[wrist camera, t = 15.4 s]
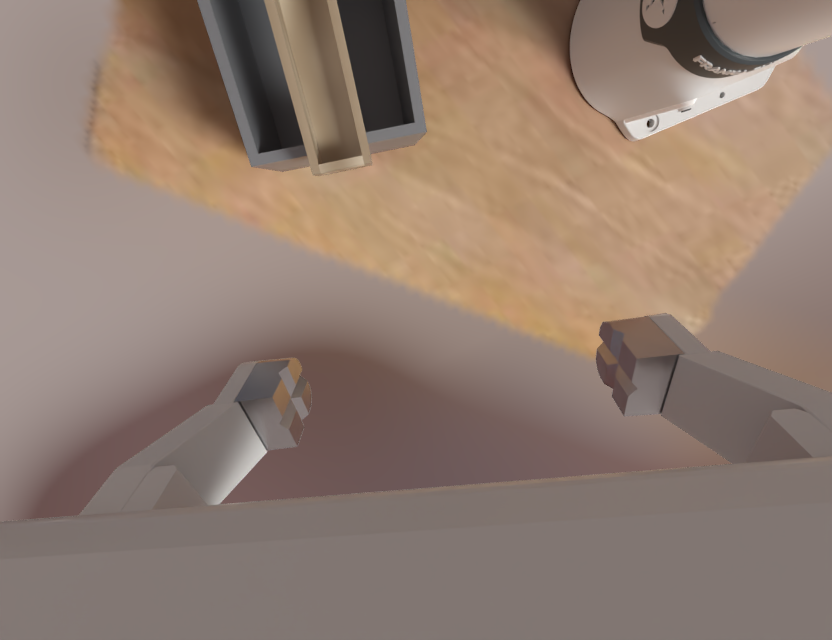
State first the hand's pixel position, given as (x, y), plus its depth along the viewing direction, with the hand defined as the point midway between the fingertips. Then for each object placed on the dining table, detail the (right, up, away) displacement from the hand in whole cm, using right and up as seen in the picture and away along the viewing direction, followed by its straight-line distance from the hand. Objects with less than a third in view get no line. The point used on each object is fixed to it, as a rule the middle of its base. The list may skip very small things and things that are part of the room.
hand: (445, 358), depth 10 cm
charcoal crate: (-9, +25, +25) cm, 37 cm away
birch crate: (-8, +22, +16) cm, 28 cm away
